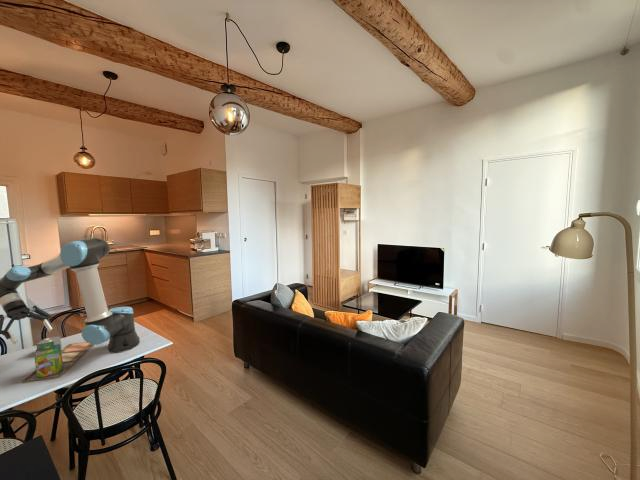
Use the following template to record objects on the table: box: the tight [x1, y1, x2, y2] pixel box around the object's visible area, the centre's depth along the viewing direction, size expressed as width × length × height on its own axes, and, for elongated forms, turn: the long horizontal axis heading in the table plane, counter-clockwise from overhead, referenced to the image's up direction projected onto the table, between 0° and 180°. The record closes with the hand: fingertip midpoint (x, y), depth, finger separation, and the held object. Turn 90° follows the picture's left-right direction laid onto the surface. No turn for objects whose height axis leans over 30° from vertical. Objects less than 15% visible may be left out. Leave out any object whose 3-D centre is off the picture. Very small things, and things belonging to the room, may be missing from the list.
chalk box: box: [34, 341, 64, 379], centre depth 135 cm, size 9×9×15 cm
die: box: [35, 336, 63, 350], centre depth 153 cm, size 7×7×7 cm
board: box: [21, 341, 95, 384], centre depth 146 cm, size 35×14×1 cm, turn 14°
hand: (33, 336), depth 137 cm, fingers open, 13 cm apart
